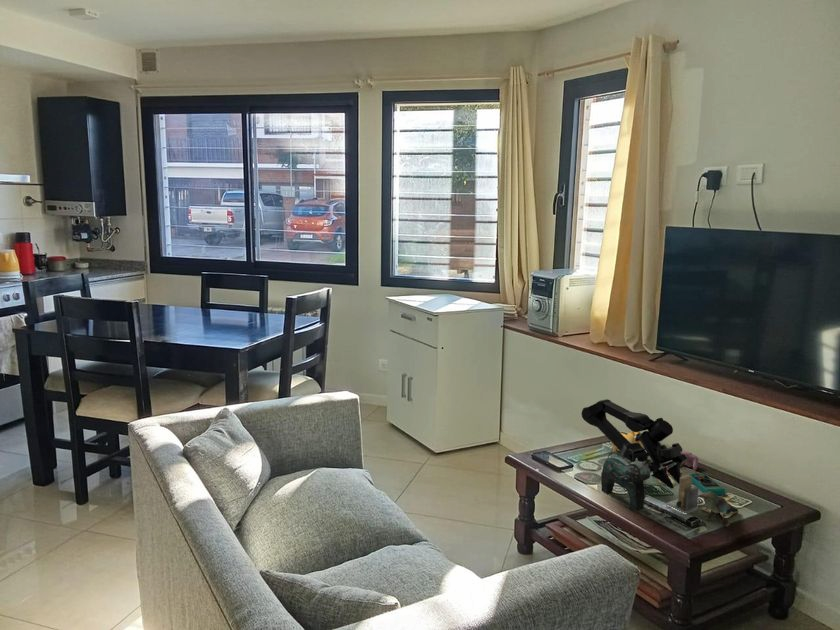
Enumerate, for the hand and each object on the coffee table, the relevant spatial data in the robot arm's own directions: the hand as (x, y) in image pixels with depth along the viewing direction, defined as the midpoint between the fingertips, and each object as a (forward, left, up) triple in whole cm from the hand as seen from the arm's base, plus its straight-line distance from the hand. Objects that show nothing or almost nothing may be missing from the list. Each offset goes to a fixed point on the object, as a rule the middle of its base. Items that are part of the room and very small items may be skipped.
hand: (677, 486), depth 225 cm
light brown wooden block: (+3, -1, -5) cm, 6 cm away
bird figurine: (+14, -1, -7) cm, 16 cm away
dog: (-34, +26, -7) cm, 43 cm away
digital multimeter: (+1, +22, -7) cm, 23 cm away
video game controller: (-13, +34, -7) cm, 37 cm away
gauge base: (+3, 0, -7) cm, 7 cm away
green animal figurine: (-14, -12, -7) cm, 20 cm away
